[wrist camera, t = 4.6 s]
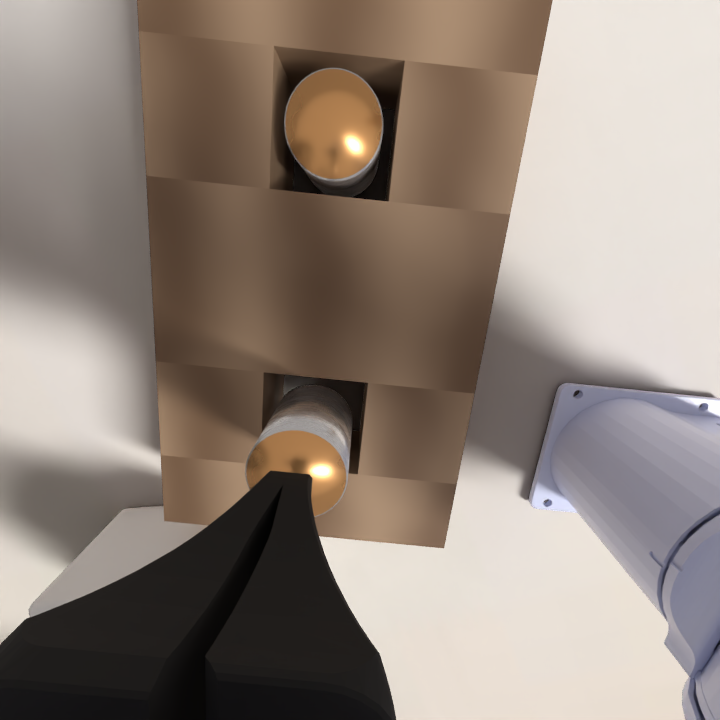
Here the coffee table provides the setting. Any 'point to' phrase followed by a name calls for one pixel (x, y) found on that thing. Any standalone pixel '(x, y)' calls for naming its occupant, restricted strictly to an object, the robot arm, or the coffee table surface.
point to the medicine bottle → (116, 554)
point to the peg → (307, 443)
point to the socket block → (329, 239)
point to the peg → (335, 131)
